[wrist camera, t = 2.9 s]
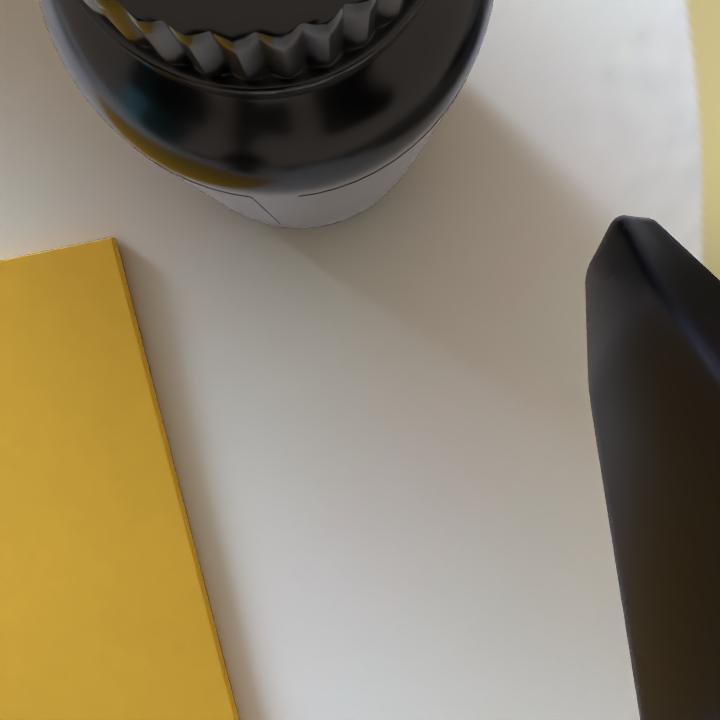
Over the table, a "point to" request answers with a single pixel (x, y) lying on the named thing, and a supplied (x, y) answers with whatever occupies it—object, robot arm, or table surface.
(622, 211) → the table surface
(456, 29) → the supplement bottle
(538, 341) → the table surface
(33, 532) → the cloth
